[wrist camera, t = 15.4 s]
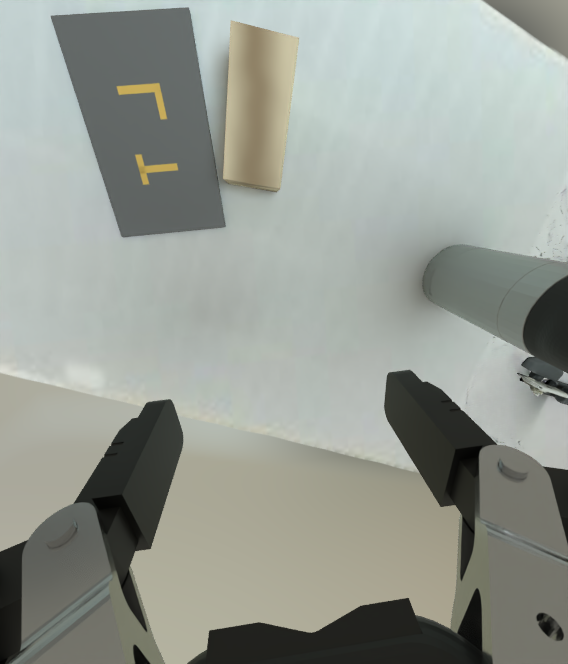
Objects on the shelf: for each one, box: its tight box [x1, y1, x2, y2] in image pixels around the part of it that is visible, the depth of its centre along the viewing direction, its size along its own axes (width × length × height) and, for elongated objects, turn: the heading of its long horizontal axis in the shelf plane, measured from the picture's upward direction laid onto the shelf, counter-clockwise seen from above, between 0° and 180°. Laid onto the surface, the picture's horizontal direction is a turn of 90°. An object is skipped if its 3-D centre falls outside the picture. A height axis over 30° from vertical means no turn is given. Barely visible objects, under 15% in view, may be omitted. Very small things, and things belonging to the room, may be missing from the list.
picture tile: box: [51, 7, 226, 237], centre depth 30 cm, size 13×20×1 cm, turn 5°
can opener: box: [517, 357, 568, 405], centre depth 49 cm, size 19×6×5 cm, turn 66°
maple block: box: [223, 21, 299, 192], centre depth 29 cm, size 6×12×6 cm, turn 172°
